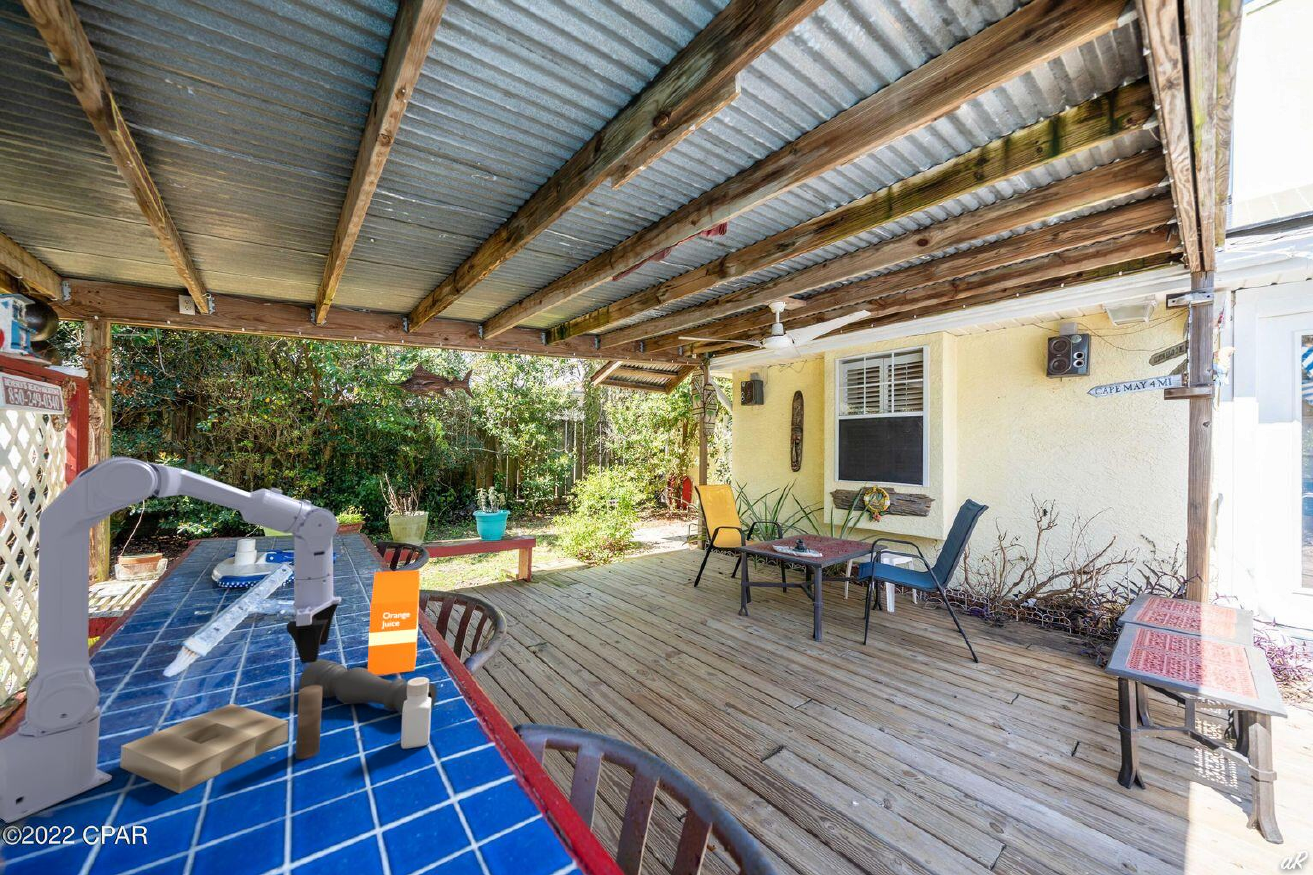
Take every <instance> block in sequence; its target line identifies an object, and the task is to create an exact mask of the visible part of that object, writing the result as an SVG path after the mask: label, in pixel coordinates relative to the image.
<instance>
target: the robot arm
mask: <svg viewBox="0 0 1313 875" xmlns="http://www.w3.org/2000/svg"><path fill="white" fill-rule="evenodd" d="M282 492H283V490H282V489H279V488H275V487H271V489H266V488H260V489H257V490H255V491H251V492H249V491H245V490H242V489H240V488H237V487H235V486H232V485H229V484H227V483H224V482H220V481H217V480H215V479H212V478H209V477H207V476H204V475H201V474H199V473H195V472H192V471H189V470H186V469H183V468H179V467H174V466H170V465H165V464H164V465H163V464H158V463H152V462H147V461H142V460H140V459H136V458H133V457H127V456H113V457H109V458H105V459H103V460H100V461H99V462H97V463H95V464H93V465H91V466H89V467H87V468H85V469H84V470H82V471H80V472H79V473H78V474H77V475H76V476H75V478H74V479H73V480H72V481H71V482H70V483H69V484H67V486H66V487H65V488H63V490H62V491H61V492H60V493H59V494H58V495H57V496H56V497H55V498H54V500H52V501H51V502H50V503H49V505H47V507H45V508H44V509H43V510H42V512H41V513H40V517H39V519H38V520H39V521H38V523H39V526H38V529H39V531H38V532H39V533H38V592H37V594H38V601H37V605H38V608H37V611H38V612H37V613H38V615H37V616H38V617H37V619H38V620H37V662H36V663H37V664H36V665H37V666H36V669H35V670H36V671H35V672H34V674H33V676H32V677H31V678H30V680H29V681H28V683H27V685H26V689H25V698H26V700H27V701H26V707H25V712H24V716H25V718H24V720H23V721H20V723H18V730H17V731H16V732H14V733H12V734H10V735H8V736H7V737H3V738H2V739H0V818H1V819H3V820H4V821H5V822H4V821H3V822H4V823H6V824H9V823H10V824H11V823H12V822H13V823H14V822H15V821H18V820H20V819H23V818H25V817H28V816H30V815H32V814H35V813H37V812H40V811H41V810H44V809H46V808H49V807H51V806H53V805H56V804H58V803H60V802H62V801H63V802H64V801H65V800H68V799H70V798H72V797H75V796H77V795H79V794H82V793H84V792H86V791H89V790H92V789H93V788H95V787H98V786H100V785H102V784H105V783H107V782H110V781H111V780H112V778H113V776H112V775H111V774H109V773H106V772H104V771H102V770H101V769H98V756H99V755H98V754H99V753H98V752H99V740H100V738H99V737H100V736H99V735H100V723H101V706H99V705H98V704H99V701H100V698H101V696H100V695H101V694H100V689H99V687H98V686H97V685H96V673H95V669H94V668H93V667H92V666H91V665H90V655H89V654H90V653H89V651H90V650H89V622H90V621H89V620H90V619H89V617H90V616H89V615H90V614H89V613H90V612H89V611H90V599H89V598H90V537H91V536H90V534H91V533H90V532H91V529H93V527H95V526H96V525H98V524H99V523H101V522H102V521H103V520H105V519H106V518H108V517H110V515H113V513H114V512H116V511H120V510H122V509H126V508H127V507H131V506H133V505H135V504H138V503H140V502H143V501H145V500H146V499H148V498H149V497H150V496H152V495H153V496H155V497H157V498H159V499H160V498H168V497H173V496H180V495H181V496H187V497H191V498H192V499H193V498H194V499H197V500H200V501H204V502H207V503H211V504H216V505H219V506H223V507H226V508H229V509H233V510H237V511H238V512H240V514H241V516H242V519H243V521H244V522H246V523H249V524H253V525H255V526H256V525H257V526H260V527H263V528H265V529H266V528H267V529H270V530H273V531H277V532H280V533H283V534H291V535H292V536H294V537H293V538H294V551H293V570H294V571H293V572H294V573H293V580H294V582H293V584H294V585H293V586H294V588H293V589H294V590H293V593H294V594H293V595H294V596H293V597H294V602H293V603H292V608H293V610H294V613H295V614H296V616H295V620H292V621H288V623H287V624H286V631H287V632H288V634H289V635H290V636H291V638H292V639H293V642H294V644H295V646H296V650H297V653H298V656H299V660H300V663H301V664H302V665H304V664H310V663H311V662H316V660H318V659H319V653H320V652H319V651H320V647H321V646H326V645H327V643H328V640H329V637H330V630H331V628H332V627H331V626H332V622H333V618H334V615H335V612H336V610H337V608H338V606H339V604H340V603H341V602H342V596H334V547H333V545H334V544H333V537H334V535H335V534H336V533H337V531H338V529H339V526H340V523H339V522H337V517H336V516H335V515H334V514H333V512H332V511H331V510H329V509H327V508H322V507H320V506H316V505H314V504H312V501H310V500H307V499H303V500H299V499H296V498H292V497H290V496H288V495H285V494H282ZM1 819H0V820H1Z"/></svg>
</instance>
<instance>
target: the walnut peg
mask: <svg viewBox="0 0 1313 875" xmlns="http://www.w3.org/2000/svg"><path fill="white" fill-rule="evenodd" d="M322 689H323V687H322V686H320V685H312V686H307V687H304V688H302V689H301V690H300V689H299V691H298V698H297V699H298V702H297V704H298V705H297V719H296V720H297V721H296V722H297V725H296V740H295V743H296V744H295V758H296V759H298V760H305V759H306V760H307V759H310V758H312V757H313V758H314V757H315V756H316V755H318V754H319V753H320V747H321V746H320V743H321V728H322V727H321V726H322V724H321V723H322V707H323V706H322V705H323V704H322V703H323V698H322Z"/></svg>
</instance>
